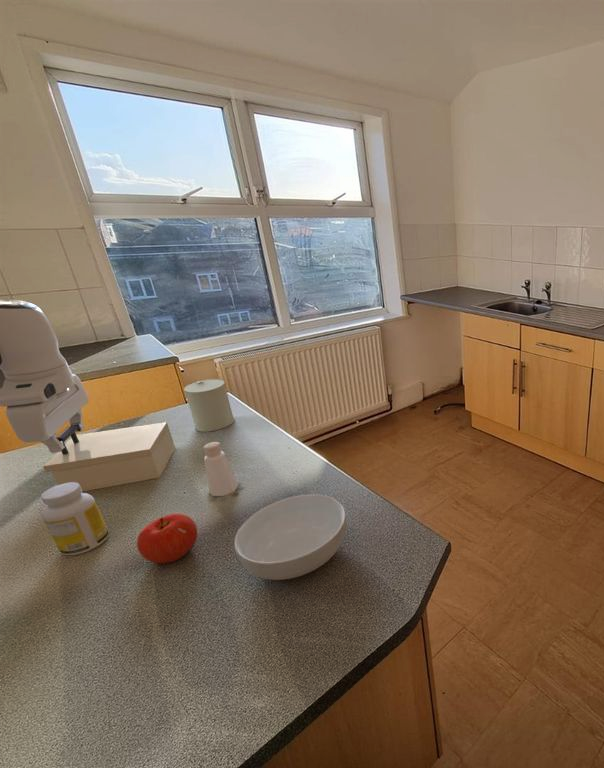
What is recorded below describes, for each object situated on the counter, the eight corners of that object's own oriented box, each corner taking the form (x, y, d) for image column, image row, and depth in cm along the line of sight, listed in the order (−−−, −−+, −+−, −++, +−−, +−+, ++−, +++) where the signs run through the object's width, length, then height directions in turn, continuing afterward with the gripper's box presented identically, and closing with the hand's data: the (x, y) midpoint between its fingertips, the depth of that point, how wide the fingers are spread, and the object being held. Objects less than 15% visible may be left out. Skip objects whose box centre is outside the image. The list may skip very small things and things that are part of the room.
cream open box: (62, 495, 89) (51, 472, 87) (89, 462, 101) (80, 440, 98) (159, 477, 95) (151, 455, 93) (175, 448, 107) (168, 427, 105)
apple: (213, 541, 78) (201, 505, 75) (172, 576, 71) (157, 538, 68) (176, 534, 79) (163, 499, 76) (132, 567, 72) (116, 529, 69)
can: (225, 413, 125) (215, 374, 120) (240, 422, 120) (230, 382, 115) (189, 425, 118) (176, 384, 113) (203, 435, 113) (191, 393, 108)
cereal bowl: (285, 614, 64) (276, 579, 62) (222, 570, 72) (211, 537, 69) (370, 543, 78) (366, 512, 75) (310, 512, 86) (304, 483, 83)
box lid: (45, 472, 87) (34, 448, 84) (76, 440, 98) (66, 419, 96) (151, 455, 93) (143, 432, 91) (168, 427, 105) (161, 406, 102)
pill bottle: (108, 526, 81) (86, 474, 77) (111, 544, 77) (88, 490, 72) (60, 543, 77) (33, 489, 72) (60, 563, 73) (32, 507, 68)
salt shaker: (207, 499, 89) (192, 453, 84) (211, 485, 93) (198, 441, 89) (237, 493, 91) (224, 448, 87) (240, 479, 95) (228, 436, 91)
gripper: (47, 365, 94) (71, 421, 99) (-11, 402, 77) (22, 468, 82) (84, 362, 96) (106, 417, 102) (36, 397, 79) (65, 461, 84)
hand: (68, 440), depth 92 cm, fingers open, 8 cm apart
